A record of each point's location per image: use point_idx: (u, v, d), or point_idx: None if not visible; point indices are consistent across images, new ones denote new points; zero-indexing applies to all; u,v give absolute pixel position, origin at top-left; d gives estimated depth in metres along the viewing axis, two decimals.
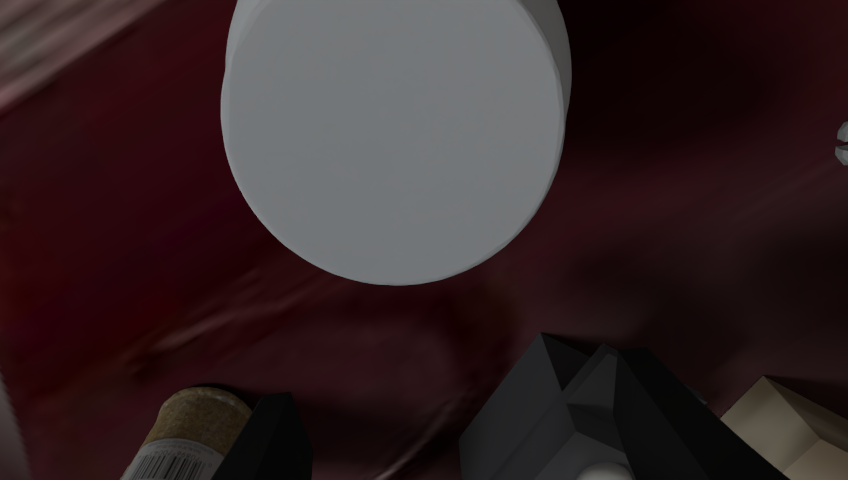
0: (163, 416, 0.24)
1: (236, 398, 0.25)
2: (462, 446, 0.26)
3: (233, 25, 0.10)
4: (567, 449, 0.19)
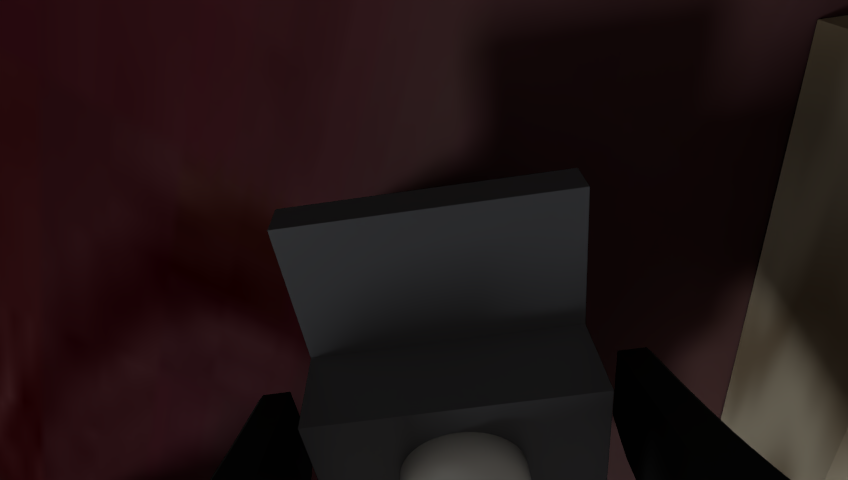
0: None
1: None
2: None
3: None
4: (327, 460, 0.08)
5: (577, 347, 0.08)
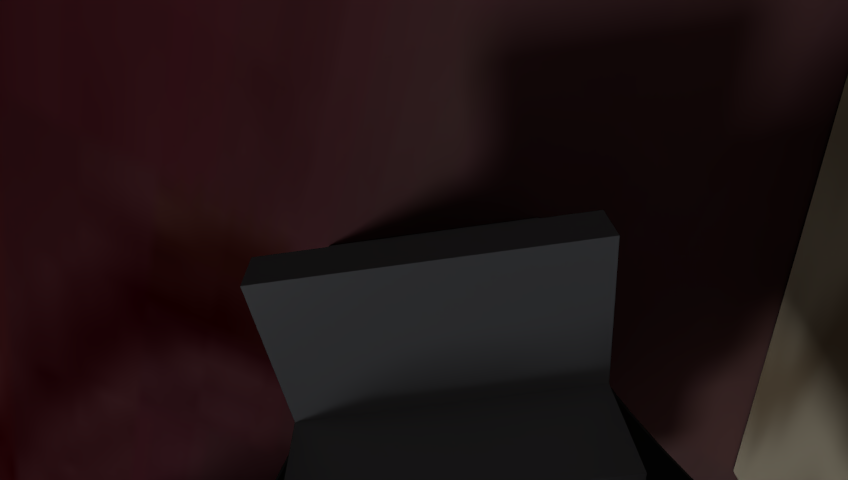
0: None
1: None
2: None
3: None
4: None
5: (601, 414, 0.07)
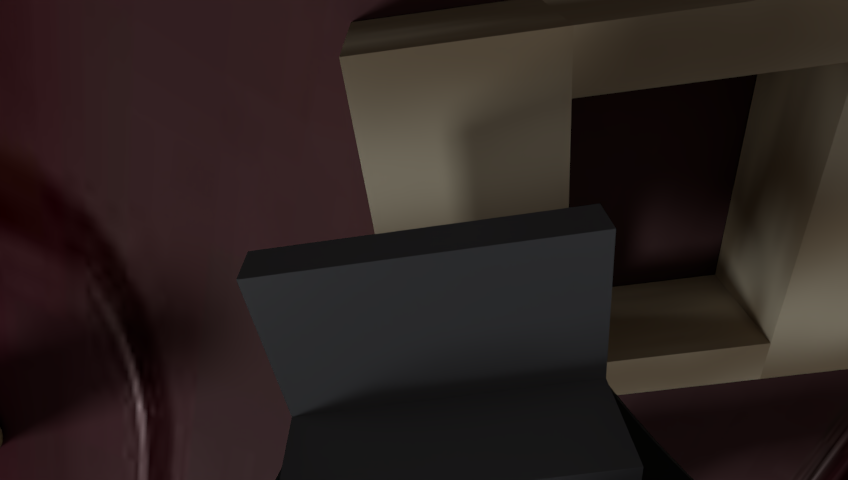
0: None
1: None
2: None
3: None
4: None
5: (598, 408, 0.07)
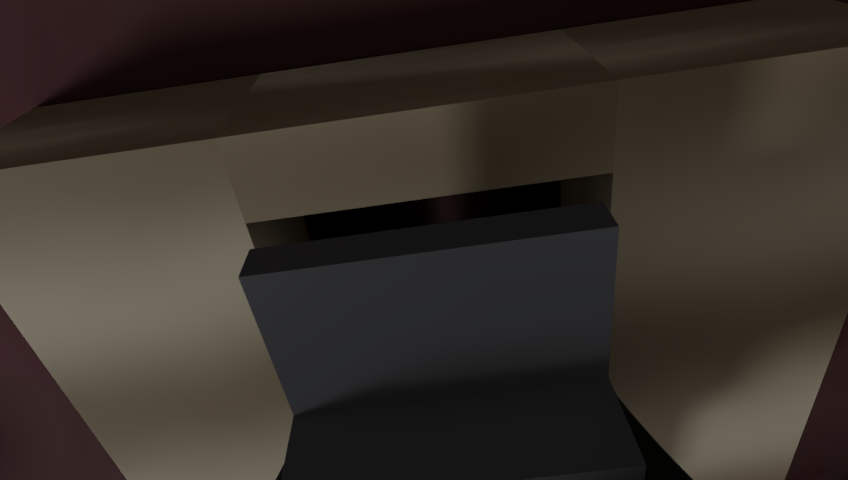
0: None
1: None
2: None
3: None
4: None
5: (600, 407, 0.07)
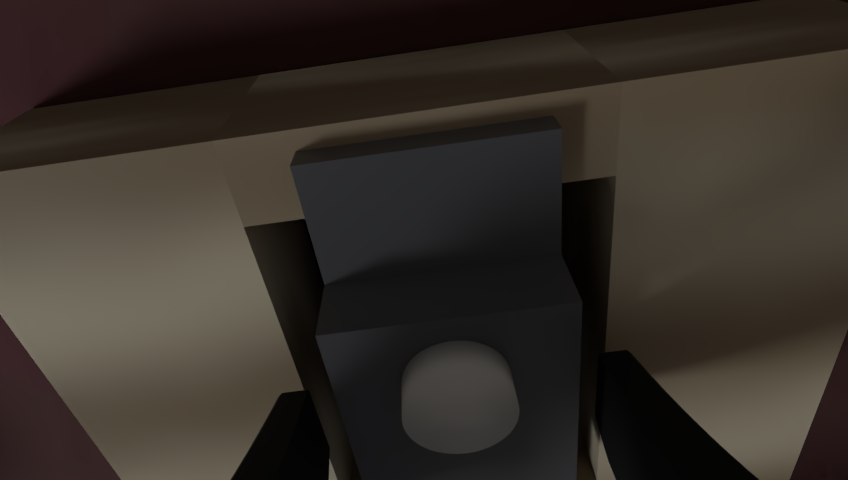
0: None
1: None
2: None
3: None
4: (339, 367, 0.10)
5: (553, 271, 0.10)
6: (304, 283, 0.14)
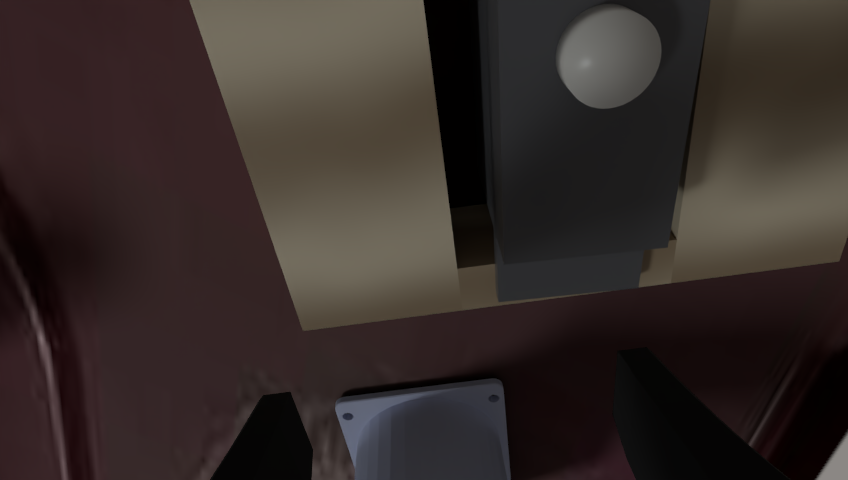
0: None
1: None
2: (479, 171, 0.19)
3: None
4: (509, 30, 0.12)
5: None
6: None
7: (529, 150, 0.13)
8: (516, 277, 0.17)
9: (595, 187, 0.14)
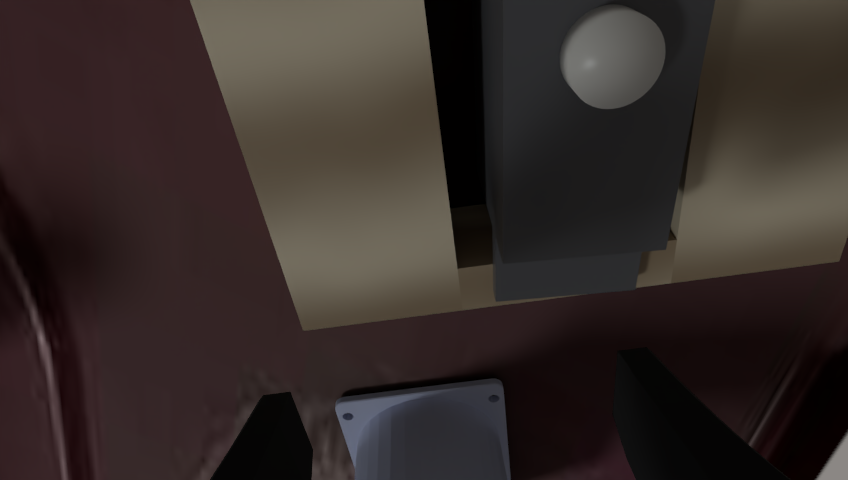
0: None
1: None
2: (478, 170, 0.19)
3: None
4: (514, 29, 0.12)
5: None
6: None
7: (531, 149, 0.13)
8: (514, 276, 0.17)
9: (595, 187, 0.14)
